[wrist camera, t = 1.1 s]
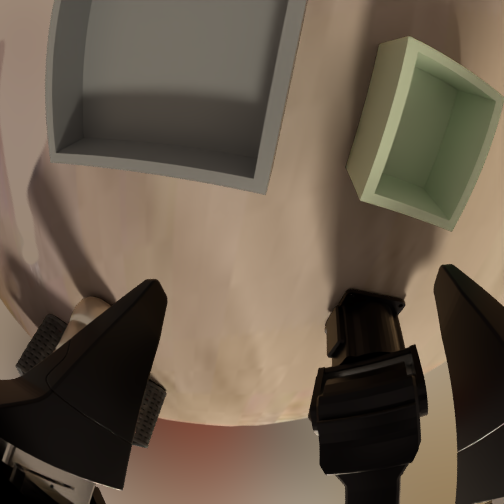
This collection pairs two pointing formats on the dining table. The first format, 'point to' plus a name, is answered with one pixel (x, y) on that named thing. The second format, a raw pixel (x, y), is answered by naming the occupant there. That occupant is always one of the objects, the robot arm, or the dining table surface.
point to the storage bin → (47, 343)
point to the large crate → (171, 86)
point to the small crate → (422, 133)
